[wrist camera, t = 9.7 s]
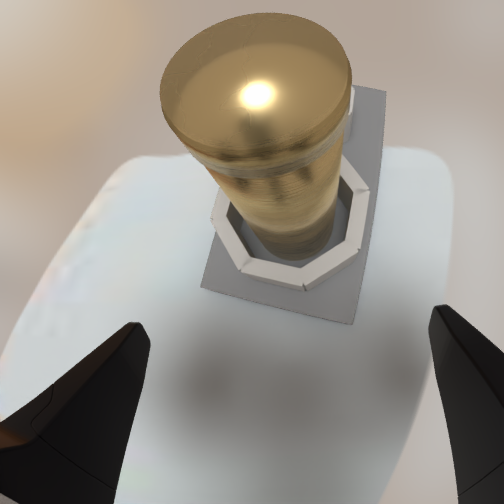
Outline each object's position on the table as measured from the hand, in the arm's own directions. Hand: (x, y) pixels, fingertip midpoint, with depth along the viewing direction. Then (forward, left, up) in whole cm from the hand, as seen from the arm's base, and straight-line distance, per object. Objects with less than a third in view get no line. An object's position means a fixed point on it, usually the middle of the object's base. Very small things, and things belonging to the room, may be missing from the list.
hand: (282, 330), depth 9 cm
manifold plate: (+9, +2, -10) cm, 13 cm away
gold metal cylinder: (+6, +2, -9) cm, 10 cm away
